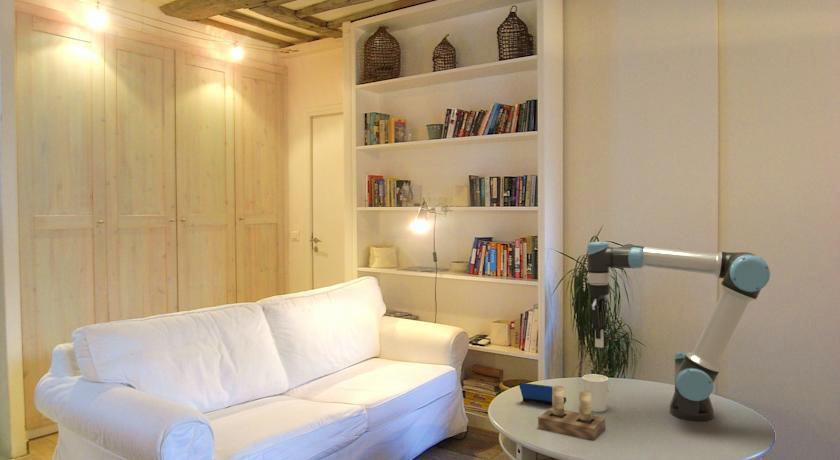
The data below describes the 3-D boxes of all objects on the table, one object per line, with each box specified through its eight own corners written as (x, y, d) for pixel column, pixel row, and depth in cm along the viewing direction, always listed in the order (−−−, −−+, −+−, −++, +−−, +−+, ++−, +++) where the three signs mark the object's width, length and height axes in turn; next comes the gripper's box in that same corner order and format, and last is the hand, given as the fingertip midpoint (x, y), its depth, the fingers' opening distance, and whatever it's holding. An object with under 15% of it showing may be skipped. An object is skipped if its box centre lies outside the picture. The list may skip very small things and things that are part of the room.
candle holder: (605, 404, 238) (605, 374, 237) (611, 412, 228) (611, 381, 227) (580, 403, 239) (580, 373, 238) (584, 412, 229) (584, 381, 228)
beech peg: (566, 425, 216) (565, 386, 216) (561, 428, 213) (561, 389, 212) (555, 422, 219) (554, 384, 218) (550, 426, 215) (550, 387, 215)
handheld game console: (567, 400, 243) (566, 378, 243) (557, 411, 232) (557, 387, 231) (529, 395, 251) (529, 373, 251) (518, 405, 239) (518, 382, 239)
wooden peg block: (605, 429, 212) (605, 389, 211) (593, 440, 202) (593, 399, 202) (551, 418, 224) (551, 380, 223) (538, 428, 214) (537, 389, 213)
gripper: (594, 281, 230) (595, 342, 231) (582, 285, 220) (583, 349, 221) (613, 282, 226) (614, 344, 227) (603, 286, 215) (603, 351, 216)
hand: (599, 346), depth 224 cm, fingers closed
